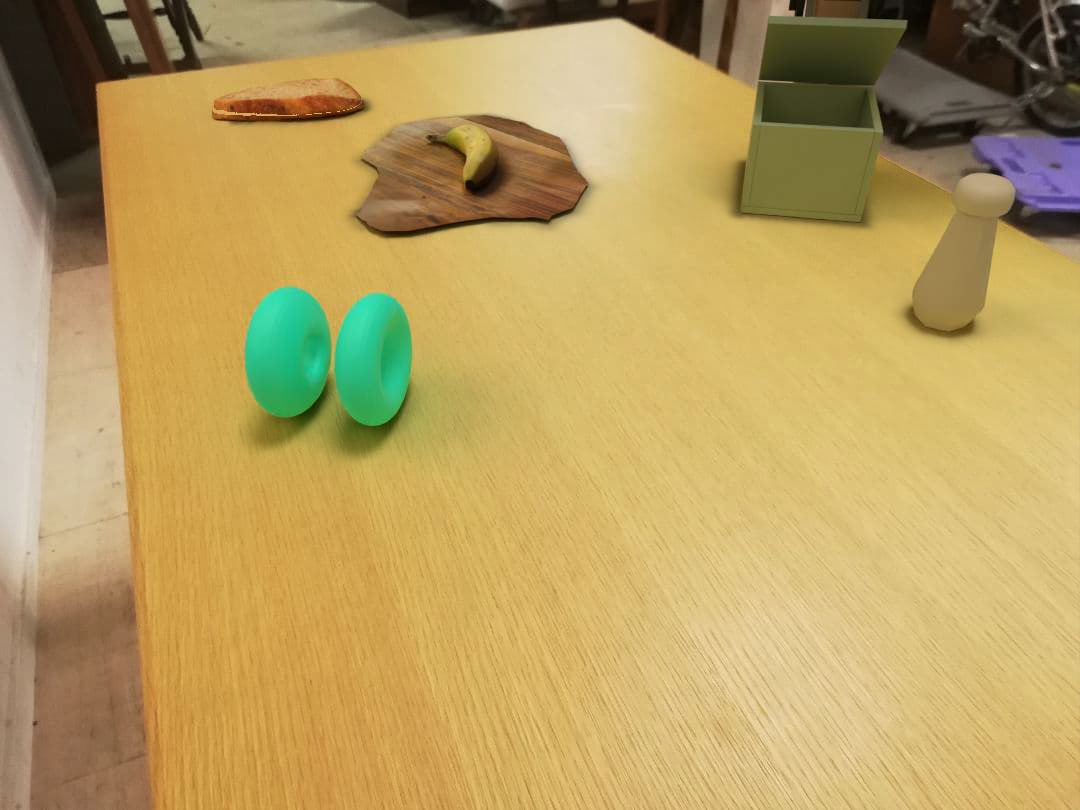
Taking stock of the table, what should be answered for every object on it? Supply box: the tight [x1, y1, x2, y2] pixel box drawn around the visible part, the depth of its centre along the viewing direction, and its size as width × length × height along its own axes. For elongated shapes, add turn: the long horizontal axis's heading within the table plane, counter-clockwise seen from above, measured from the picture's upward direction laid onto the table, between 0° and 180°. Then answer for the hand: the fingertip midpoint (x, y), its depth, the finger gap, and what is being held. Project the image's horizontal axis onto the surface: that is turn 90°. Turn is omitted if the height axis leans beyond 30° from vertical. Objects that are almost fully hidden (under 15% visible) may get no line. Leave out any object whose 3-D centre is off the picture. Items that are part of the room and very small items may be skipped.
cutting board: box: [356, 114, 590, 232], centre depth 96 cm, size 35×27×4 cm
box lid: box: [757, 0, 908, 87], centre depth 81 cm, size 14×13×5 cm
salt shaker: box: [911, 172, 1017, 333], centre depth 65 cm, size 6×6×13 cm
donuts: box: [244, 286, 413, 427], centre depth 59 cm, size 10×10×10 cm
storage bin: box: [739, 80, 884, 223], centre depth 87 cm, size 14×13×10 cm
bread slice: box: [211, 77, 365, 122], centre depth 114 cm, size 18×18×4 cm
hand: (833, 17), depth 78 cm, fingers closed on box lid, 6 cm apart
